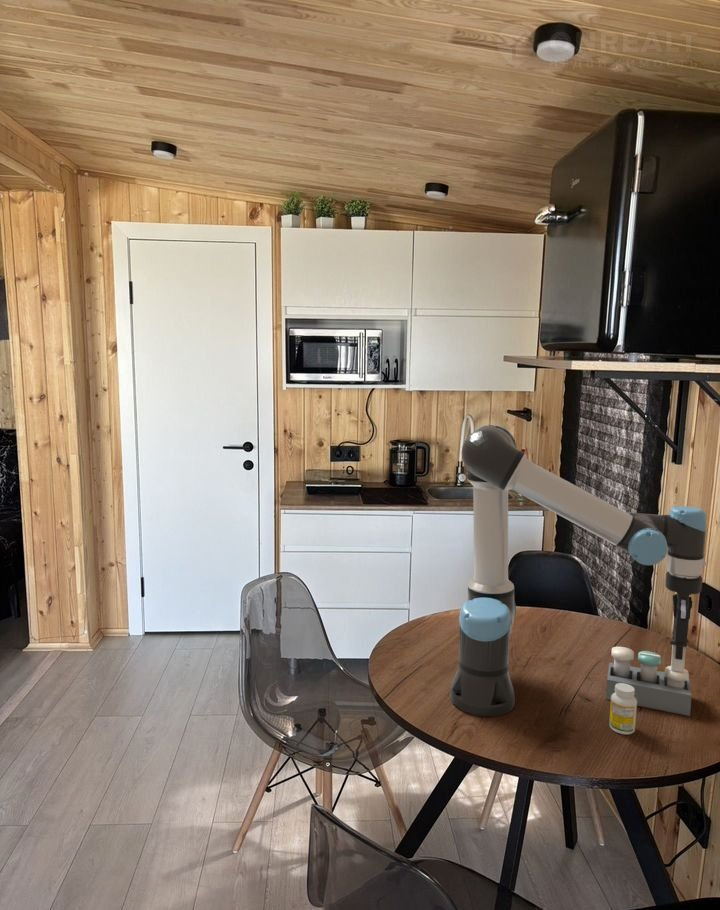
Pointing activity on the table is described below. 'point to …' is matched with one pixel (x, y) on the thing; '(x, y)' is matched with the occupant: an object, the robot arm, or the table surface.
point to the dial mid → (649, 666)
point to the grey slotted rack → (653, 691)
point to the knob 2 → (676, 678)
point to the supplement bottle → (623, 709)
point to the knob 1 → (622, 661)
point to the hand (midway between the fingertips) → (677, 669)
